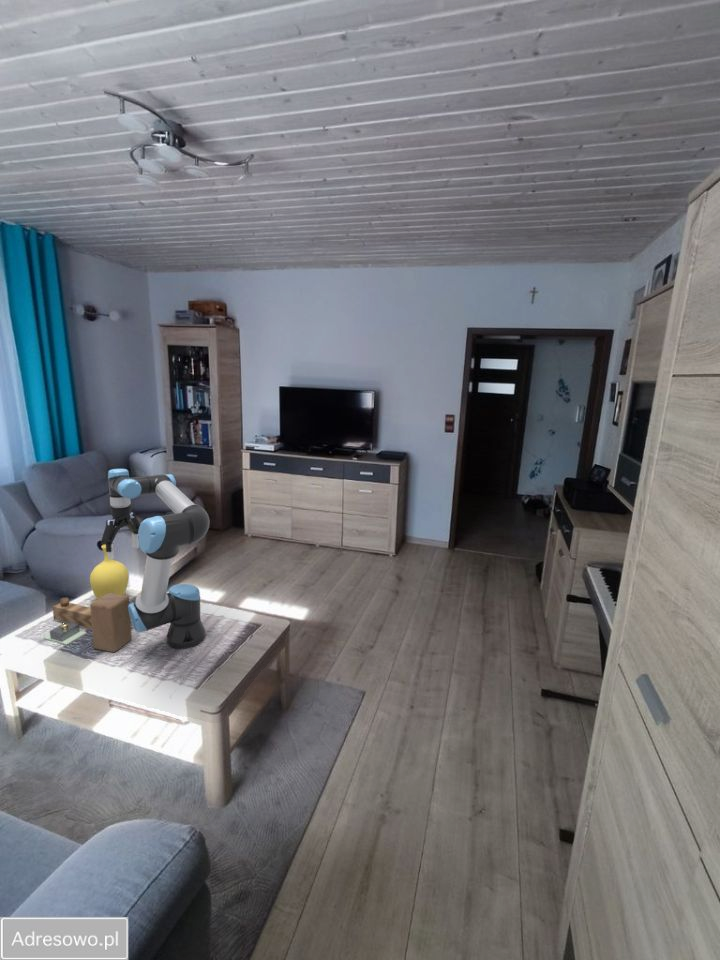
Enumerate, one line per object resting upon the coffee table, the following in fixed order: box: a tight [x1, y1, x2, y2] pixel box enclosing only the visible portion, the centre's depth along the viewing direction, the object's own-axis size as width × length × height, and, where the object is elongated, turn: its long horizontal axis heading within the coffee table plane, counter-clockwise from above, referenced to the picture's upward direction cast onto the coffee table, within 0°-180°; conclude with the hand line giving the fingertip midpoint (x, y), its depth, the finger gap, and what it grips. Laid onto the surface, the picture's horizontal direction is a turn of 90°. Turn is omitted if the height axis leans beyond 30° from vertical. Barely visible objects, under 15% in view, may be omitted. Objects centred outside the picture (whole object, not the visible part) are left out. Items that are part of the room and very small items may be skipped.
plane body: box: [52, 597, 97, 632], centre depth 186 cm, size 26×5×13 cm, turn 73°
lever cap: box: [49, 621, 81, 642], centre depth 177 cm, size 6×8×5 cm
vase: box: [89, 544, 130, 600], centre depth 205 cm, size 16×16×28 cm
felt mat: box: [43, 630, 88, 646], centre depth 177 cm, size 12×9×1 cm
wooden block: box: [89, 593, 132, 653], centre depth 172 cm, size 10×10×20 cm
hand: (123, 553), depth 185 cm, fingers open, 13 cm apart
